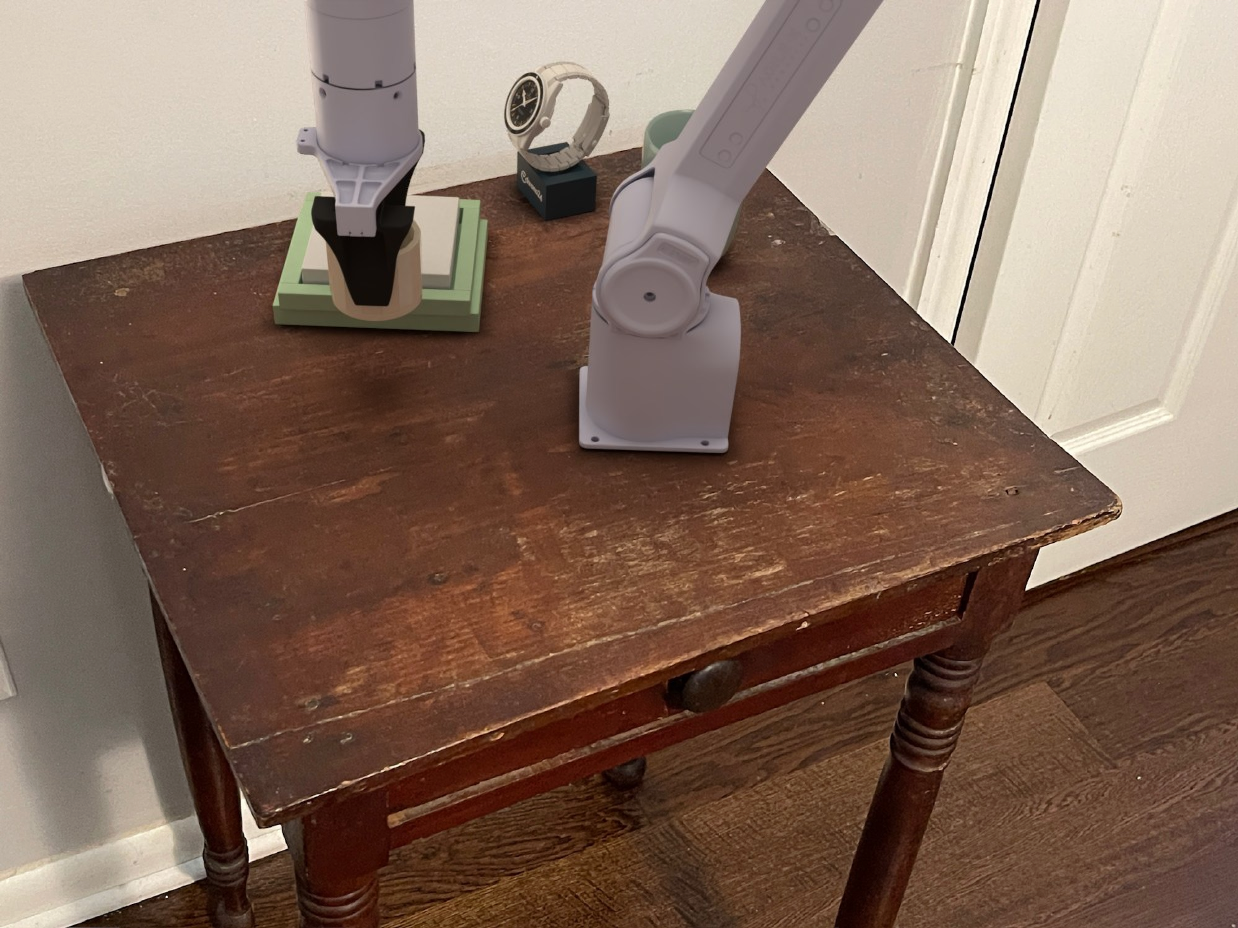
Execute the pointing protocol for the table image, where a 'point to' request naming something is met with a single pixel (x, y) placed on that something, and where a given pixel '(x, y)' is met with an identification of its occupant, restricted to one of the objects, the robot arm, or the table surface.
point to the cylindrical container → (404, 287)
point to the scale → (436, 306)
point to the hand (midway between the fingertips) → (377, 272)
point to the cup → (667, 131)
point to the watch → (558, 169)
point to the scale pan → (436, 239)
